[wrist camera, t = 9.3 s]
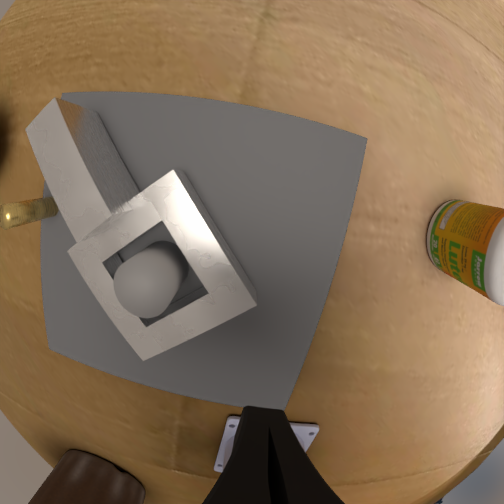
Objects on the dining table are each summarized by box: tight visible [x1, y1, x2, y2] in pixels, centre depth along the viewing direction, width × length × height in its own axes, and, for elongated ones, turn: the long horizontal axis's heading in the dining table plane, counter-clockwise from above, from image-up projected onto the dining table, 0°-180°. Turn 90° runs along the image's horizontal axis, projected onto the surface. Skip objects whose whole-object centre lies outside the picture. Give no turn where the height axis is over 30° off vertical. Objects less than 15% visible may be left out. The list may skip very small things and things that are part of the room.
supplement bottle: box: [427, 200, 504, 306], centre depth 12 cm, size 5×5×10 cm
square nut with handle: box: [26, 97, 257, 361], centre depth 13 cm, size 14×8×4 cm, turn 30°
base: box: [41, 92, 367, 411], centre depth 15 cm, size 20×20×5 cm
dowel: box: [0, 196, 59, 230], centre depth 13 cm, size 1×1×5 cm
